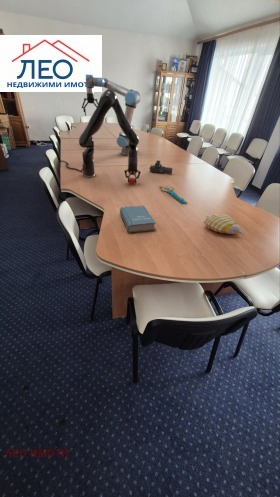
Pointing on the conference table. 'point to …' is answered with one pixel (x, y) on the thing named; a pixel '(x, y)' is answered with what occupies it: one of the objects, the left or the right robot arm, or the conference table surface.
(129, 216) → the book
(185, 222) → the conference table surface
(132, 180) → the block
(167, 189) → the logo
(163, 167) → the laser sight
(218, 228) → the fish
